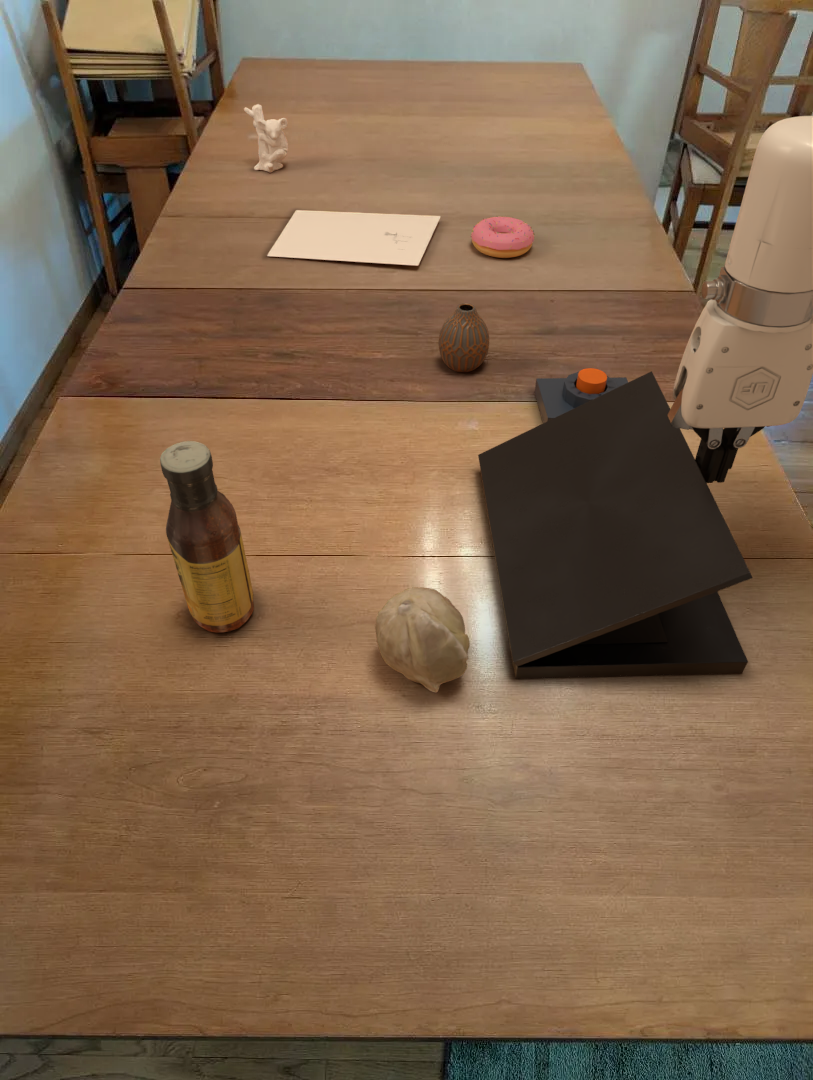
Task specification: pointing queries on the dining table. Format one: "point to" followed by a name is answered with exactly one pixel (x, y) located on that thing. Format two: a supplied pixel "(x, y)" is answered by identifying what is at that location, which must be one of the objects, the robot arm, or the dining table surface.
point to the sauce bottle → (205, 541)
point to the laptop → (650, 646)
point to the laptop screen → (602, 522)
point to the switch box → (566, 394)
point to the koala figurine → (269, 139)
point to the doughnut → (502, 237)
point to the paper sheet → (356, 237)
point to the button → (591, 381)
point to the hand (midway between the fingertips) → (710, 473)
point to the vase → (464, 339)
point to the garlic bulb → (423, 637)
